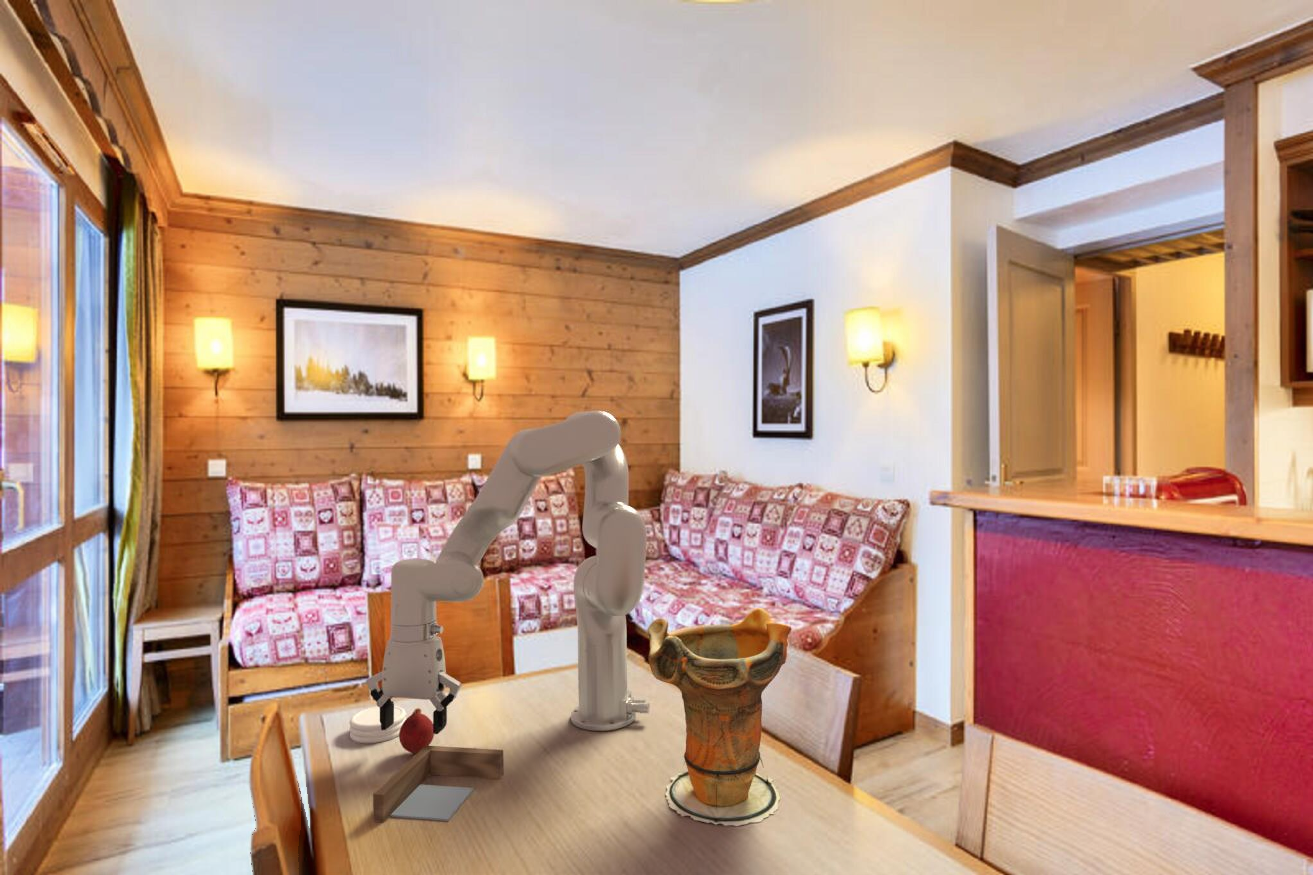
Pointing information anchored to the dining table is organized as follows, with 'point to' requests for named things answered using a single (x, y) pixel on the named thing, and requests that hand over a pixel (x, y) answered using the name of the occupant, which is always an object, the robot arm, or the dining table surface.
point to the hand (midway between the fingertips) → (413, 729)
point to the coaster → (375, 725)
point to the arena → (435, 773)
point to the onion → (416, 732)
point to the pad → (433, 802)
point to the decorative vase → (721, 713)
